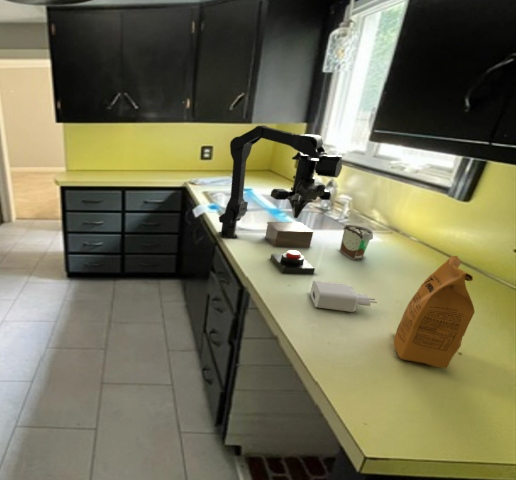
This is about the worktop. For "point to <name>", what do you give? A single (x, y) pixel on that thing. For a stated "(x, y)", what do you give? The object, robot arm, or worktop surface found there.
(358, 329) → the worktop surface
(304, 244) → the chest
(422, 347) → the coffee package
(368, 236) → the food container
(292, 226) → the lid
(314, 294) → the charger
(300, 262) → the button box
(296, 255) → the button
